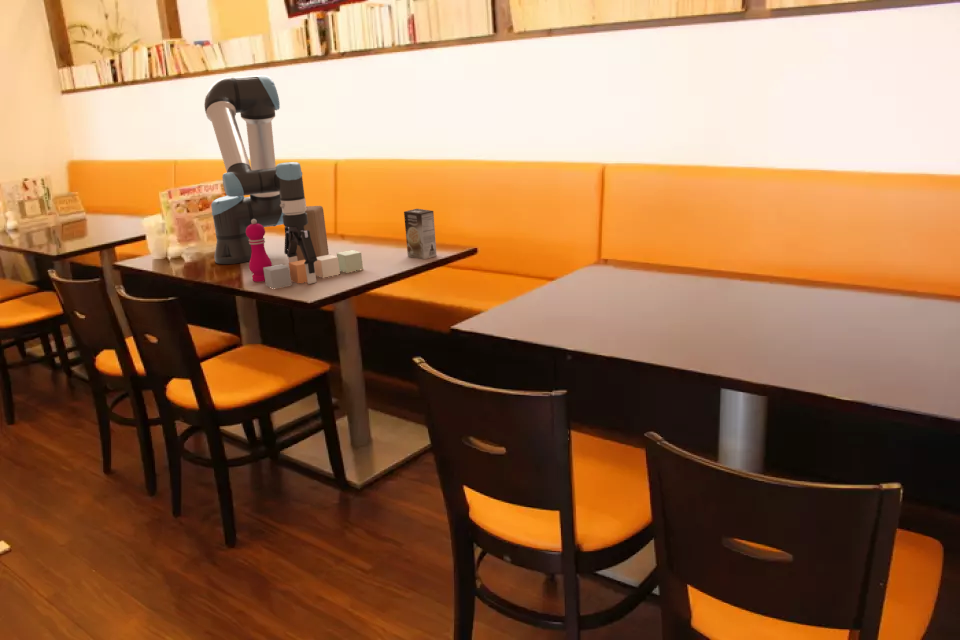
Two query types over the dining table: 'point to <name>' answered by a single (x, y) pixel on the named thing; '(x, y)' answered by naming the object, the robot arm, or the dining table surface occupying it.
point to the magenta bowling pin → (257, 251)
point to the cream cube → (327, 266)
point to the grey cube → (277, 276)
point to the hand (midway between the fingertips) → (303, 279)
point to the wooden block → (315, 232)
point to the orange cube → (298, 271)
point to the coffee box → (420, 233)
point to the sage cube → (350, 261)
